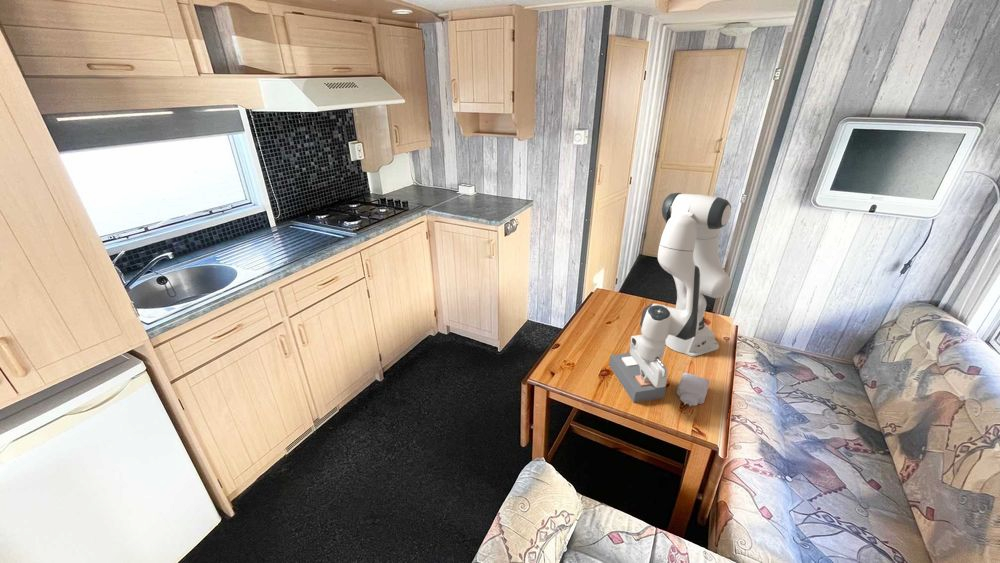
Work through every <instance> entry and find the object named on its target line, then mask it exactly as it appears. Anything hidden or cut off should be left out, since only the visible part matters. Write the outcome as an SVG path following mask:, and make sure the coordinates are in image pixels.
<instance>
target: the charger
mask: <svg viewBox="0 0 1000 563" xmlns="http://www.w3.org/2000/svg"><path fill="white" fill-rule="evenodd" d="M709 387H710V381H709V380H708V379H706V378H704V377H700V376H697V375H694V374H693V373H689V372H683V373H682V375H681V378H680V381H679V383H678V386H677V390H676V395H677V396H678V397H679V400H680V401H682V403H684V406H685V405H686V404H687V405H688V406H689V408H690V407H692V406H698V404H699V405H700V404H701V405H702V404H704V403H705V400H706V397H707V393H708V389H709Z"/></svg>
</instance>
